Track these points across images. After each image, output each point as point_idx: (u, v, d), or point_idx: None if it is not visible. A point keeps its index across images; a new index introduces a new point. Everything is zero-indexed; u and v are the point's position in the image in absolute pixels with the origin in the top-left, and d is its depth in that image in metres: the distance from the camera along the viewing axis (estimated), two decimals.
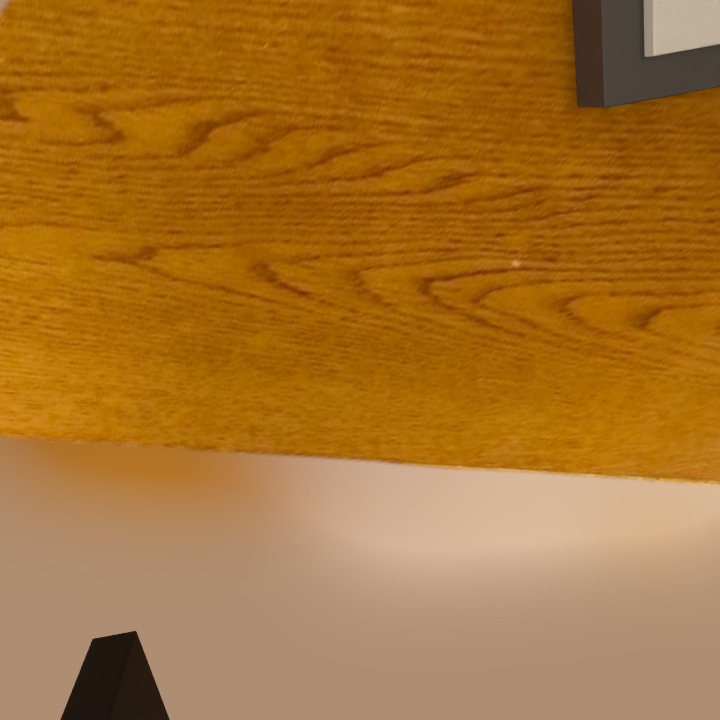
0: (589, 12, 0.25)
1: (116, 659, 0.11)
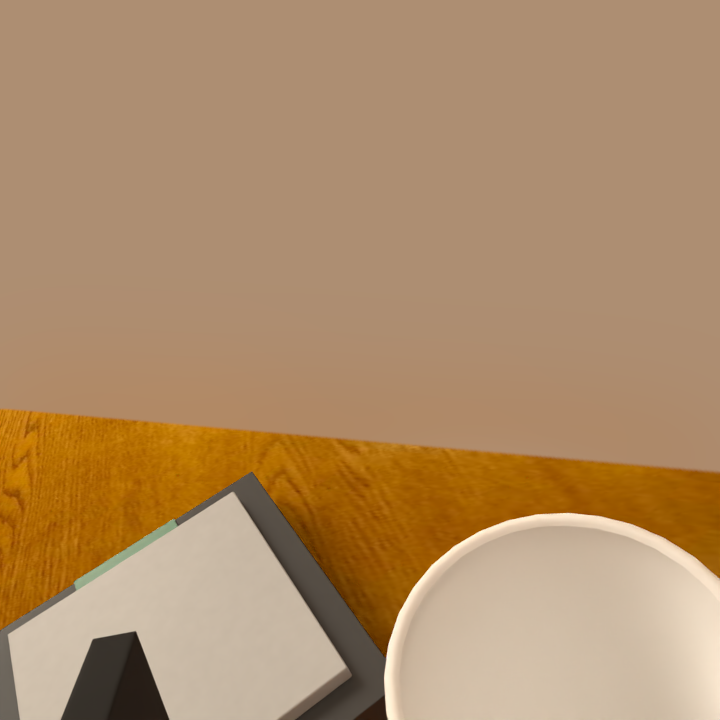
0: None
1: (116, 659, 0.11)
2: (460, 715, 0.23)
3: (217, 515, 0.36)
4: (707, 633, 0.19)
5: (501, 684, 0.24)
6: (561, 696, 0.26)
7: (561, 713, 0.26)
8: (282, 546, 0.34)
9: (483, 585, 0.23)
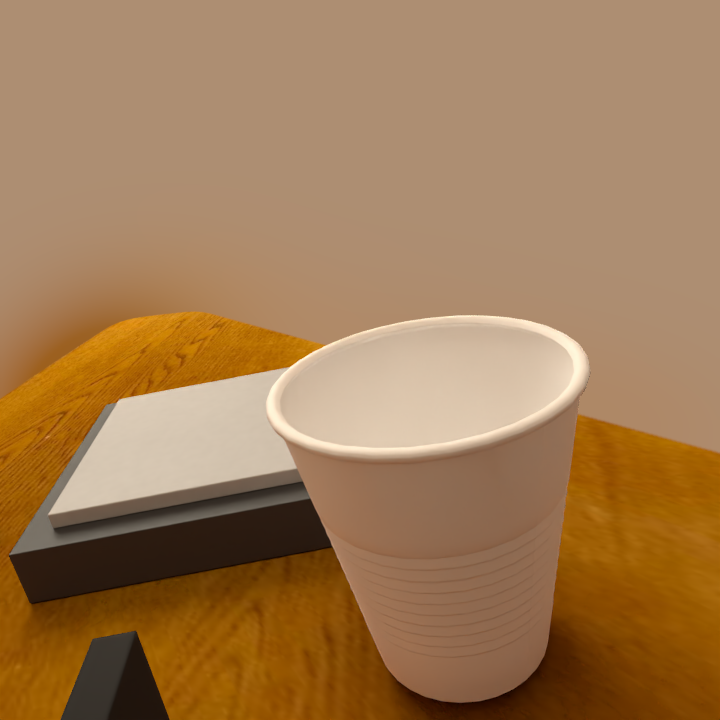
0: None
1: (116, 659, 0.11)
2: None
3: None
4: None
5: None
6: None
7: None
8: None
9: (422, 372, 0.26)
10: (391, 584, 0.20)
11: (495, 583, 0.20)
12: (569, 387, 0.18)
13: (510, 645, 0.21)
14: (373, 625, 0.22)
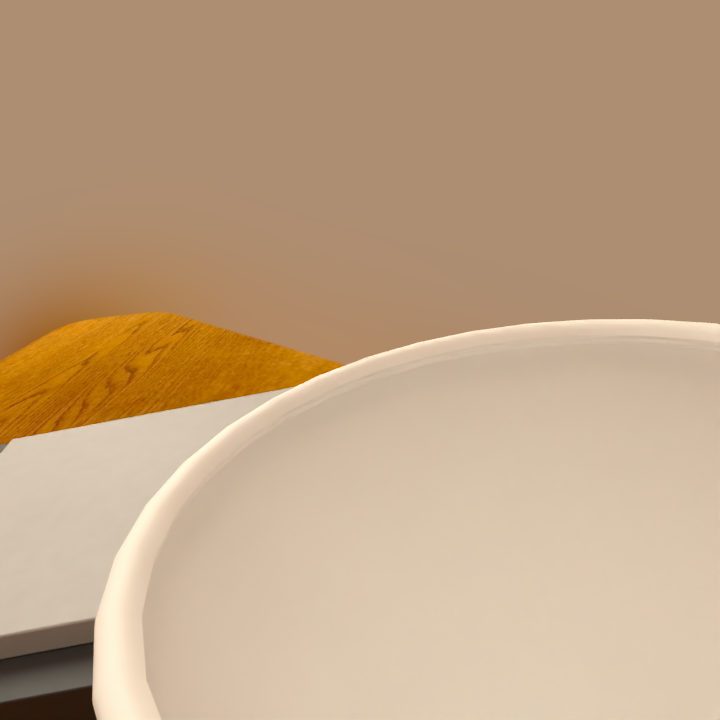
0: None
1: None
2: (386, 659, 0.12)
3: None
4: None
5: (497, 670, 0.13)
6: None
7: None
8: None
9: (507, 439, 0.12)
10: None
11: None
12: None
13: None
14: None
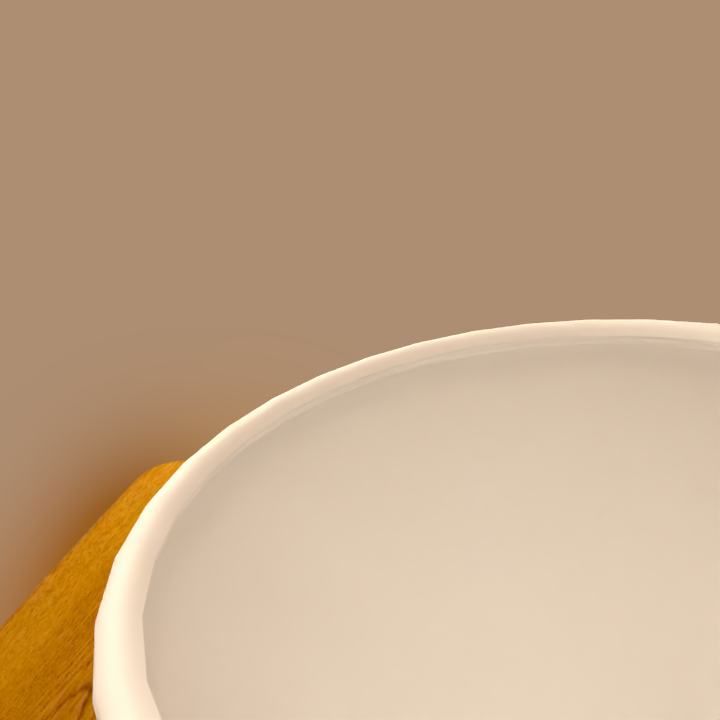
0: None
1: None
2: (387, 660, 0.12)
3: None
4: None
5: (497, 671, 0.13)
6: None
7: None
8: None
9: (507, 439, 0.12)
10: None
11: None
12: None
13: None
14: None
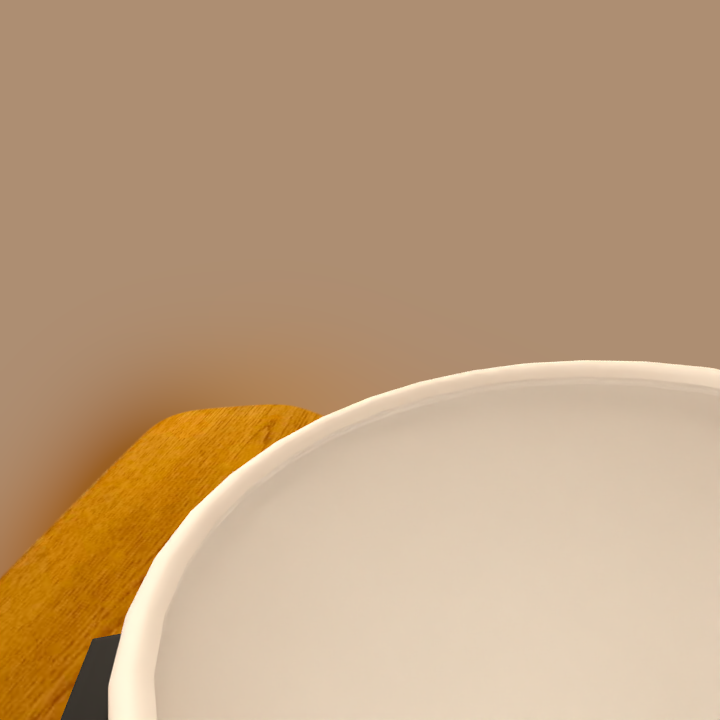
0: None
1: None
2: (389, 691, 0.12)
3: None
4: None
5: (497, 700, 0.13)
6: None
7: None
8: None
9: (506, 476, 0.12)
10: None
11: None
12: None
13: None
14: None
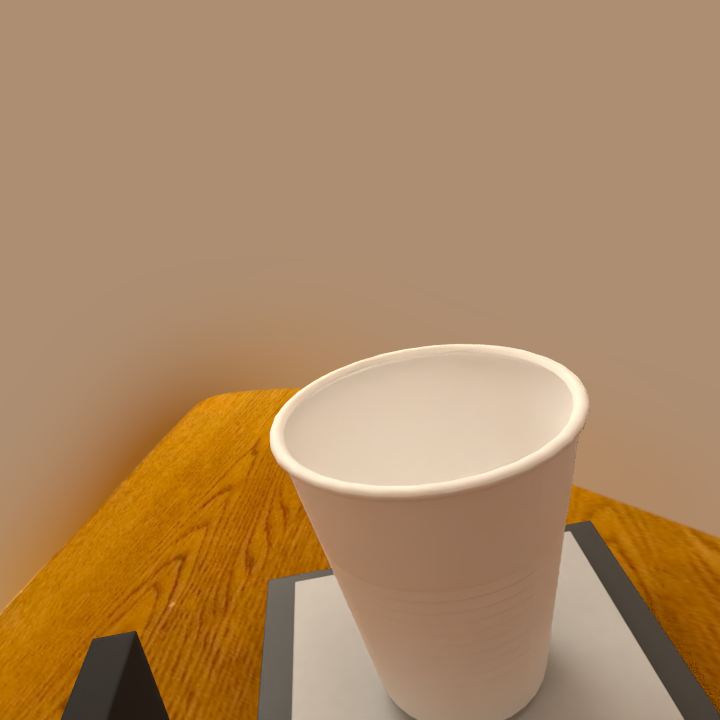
0: None
1: (116, 659, 0.11)
2: None
3: None
4: None
5: None
6: None
7: None
8: (627, 614, 0.27)
9: (422, 398, 0.26)
10: (392, 615, 0.20)
11: (495, 616, 0.20)
12: (569, 425, 0.19)
13: (509, 674, 0.21)
14: (374, 652, 0.23)
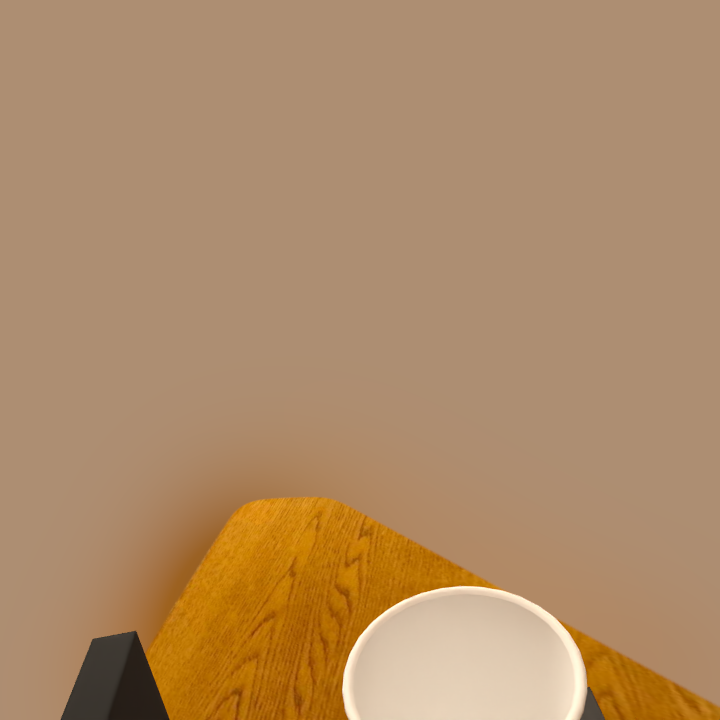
0: None
1: (116, 659, 0.11)
2: (410, 707, 0.33)
3: None
4: None
5: (452, 710, 0.34)
6: None
7: None
8: None
9: (454, 626, 0.33)
10: None
11: None
12: (571, 714, 0.25)
13: None
14: None
